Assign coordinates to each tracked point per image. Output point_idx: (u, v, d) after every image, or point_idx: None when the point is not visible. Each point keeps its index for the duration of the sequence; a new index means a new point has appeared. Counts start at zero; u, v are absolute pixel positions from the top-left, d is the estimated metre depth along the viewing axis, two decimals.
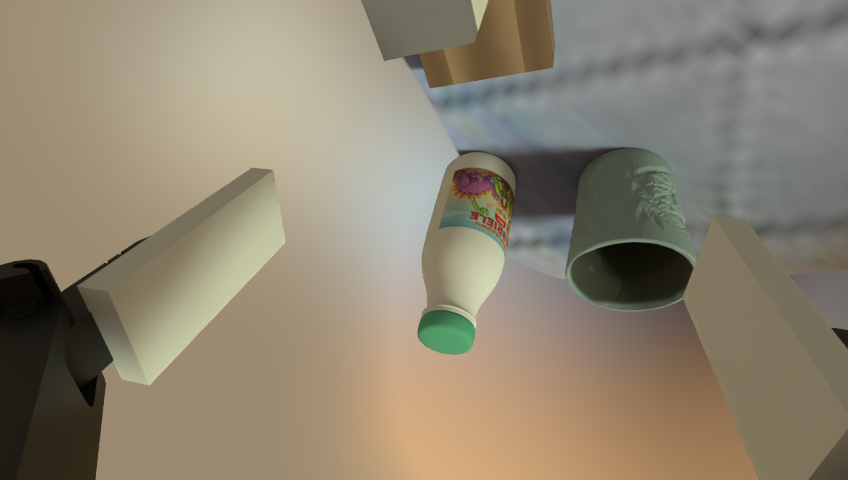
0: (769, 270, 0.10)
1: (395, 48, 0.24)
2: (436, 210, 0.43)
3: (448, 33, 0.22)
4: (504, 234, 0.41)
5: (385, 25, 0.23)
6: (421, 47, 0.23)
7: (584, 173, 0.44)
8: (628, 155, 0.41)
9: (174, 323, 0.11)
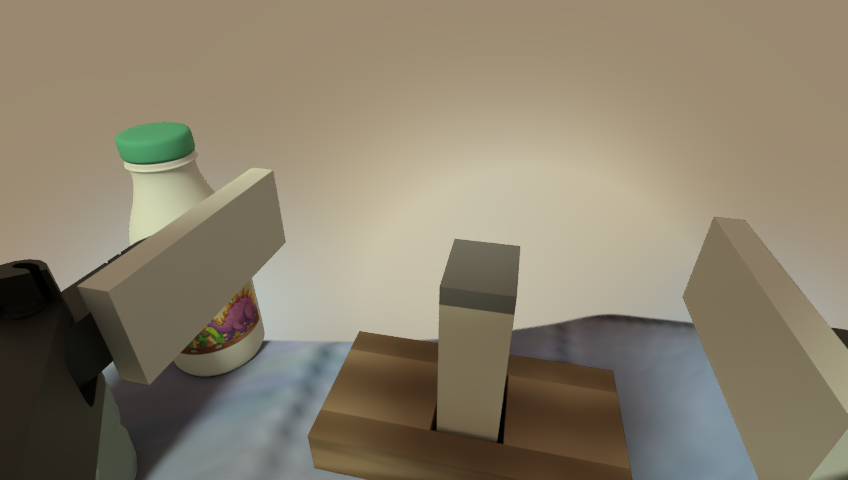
0: (769, 270, 0.10)
1: (461, 247, 0.27)
2: None
3: (456, 275, 0.25)
4: None
5: (482, 248, 0.27)
6: (453, 259, 0.26)
7: None
8: None
9: (174, 323, 0.11)
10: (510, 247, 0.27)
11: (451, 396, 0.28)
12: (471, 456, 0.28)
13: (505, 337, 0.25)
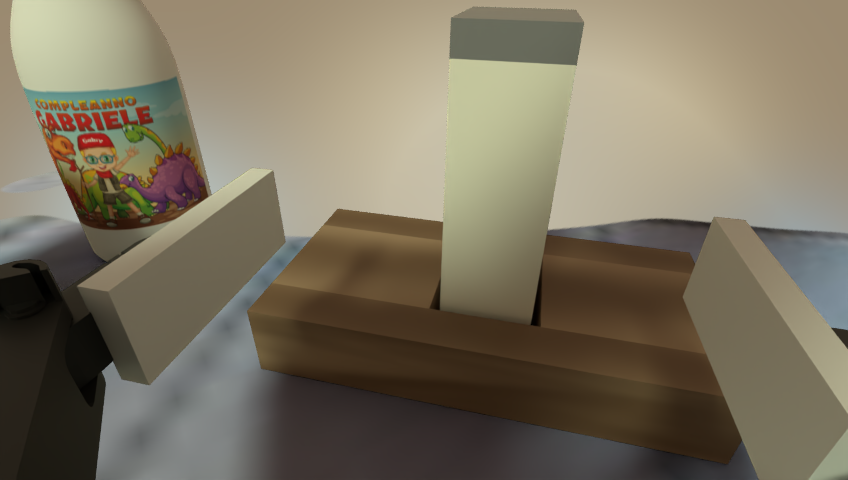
0: (769, 270, 0.10)
1: (483, 8, 0.17)
2: (192, 121, 0.29)
3: (478, 15, 0.15)
4: (68, 126, 0.23)
5: (516, 9, 0.17)
6: (472, 11, 0.16)
7: None
8: None
9: (174, 323, 0.11)
10: (560, 9, 0.17)
11: (464, 247, 0.18)
12: (492, 339, 0.18)
13: (558, 117, 0.15)
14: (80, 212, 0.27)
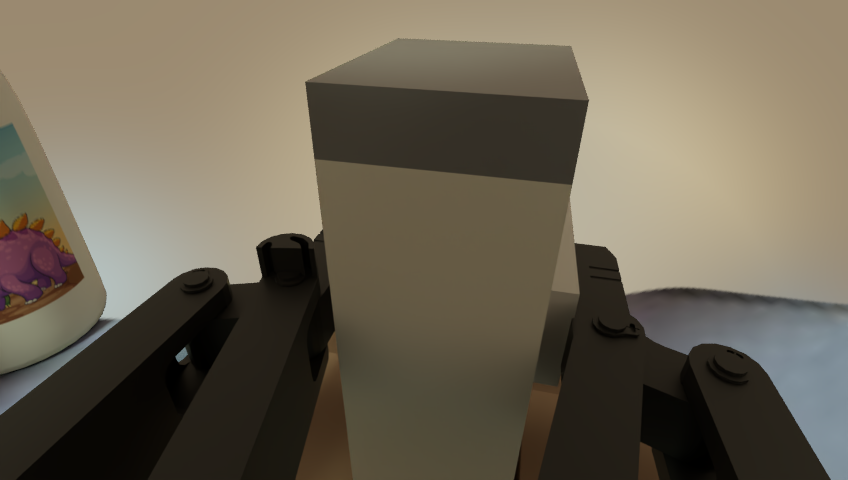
0: None
1: (410, 44, 0.10)
2: (53, 179, 0.21)
3: (375, 69, 0.07)
4: None
5: (467, 46, 0.10)
6: (381, 53, 0.09)
7: None
8: None
9: None
10: (544, 46, 0.10)
11: (383, 445, 0.11)
12: None
13: (535, 275, 0.07)
14: None
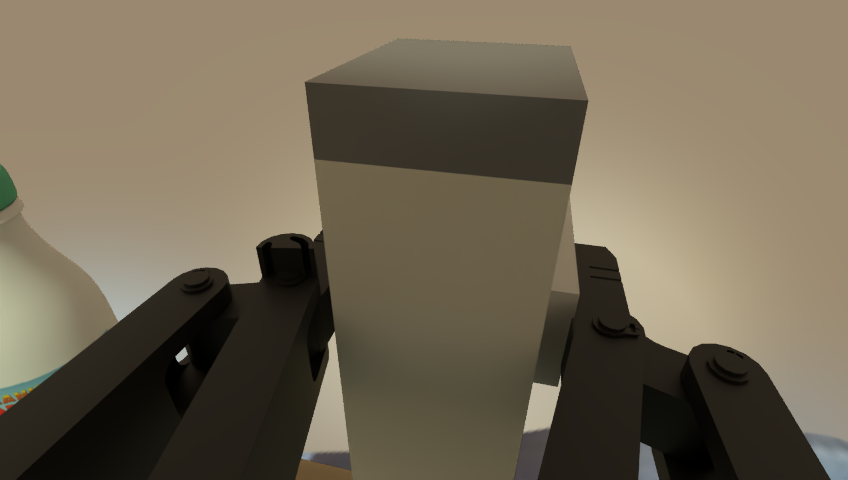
0: None
1: (409, 44, 0.10)
2: None
3: (375, 70, 0.07)
4: None
5: (466, 46, 0.10)
6: (380, 53, 0.09)
7: None
8: None
9: None
10: (544, 46, 0.10)
11: (383, 445, 0.11)
12: None
13: (534, 275, 0.07)
14: None
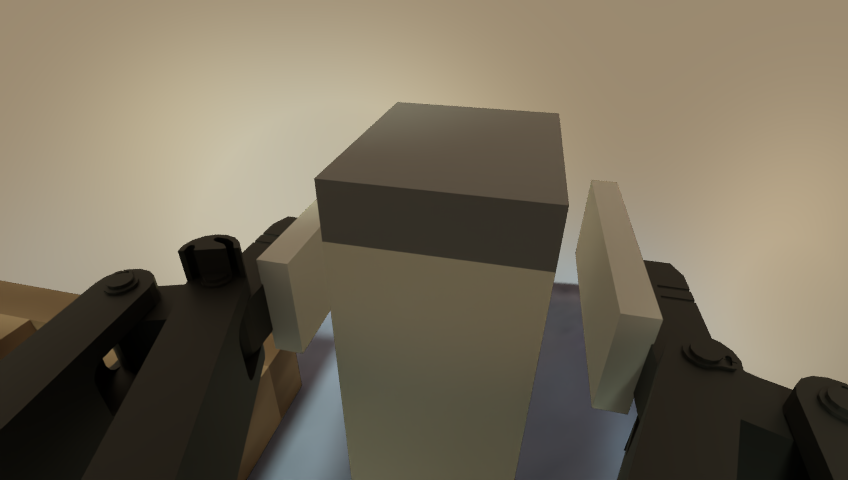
0: (615, 218, 0.12)
1: (408, 112, 0.11)
2: None
3: (377, 157, 0.08)
4: None
5: (462, 115, 0.11)
6: (382, 129, 0.10)
7: None
8: None
9: (319, 298, 0.12)
10: (534, 115, 0.11)
11: None
12: None
13: (523, 345, 0.08)
14: None
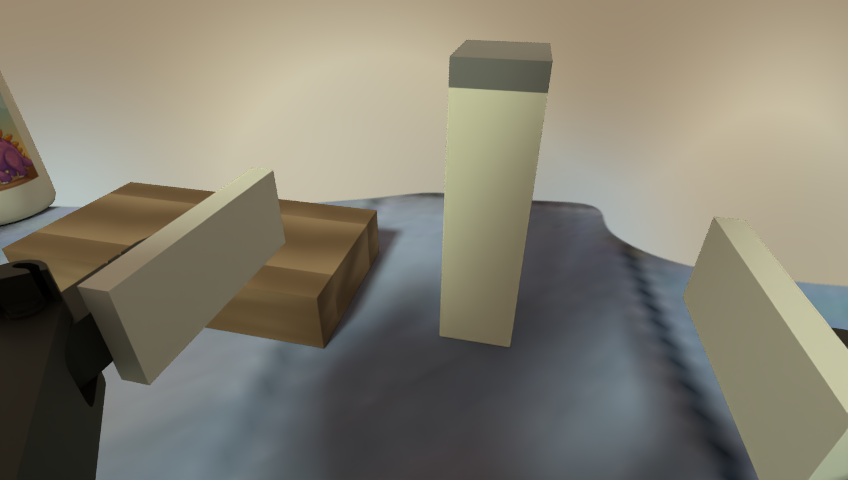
0: (769, 270, 0.10)
1: (475, 42, 0.21)
2: (18, 114, 0.36)
3: (470, 52, 0.19)
4: None
5: (501, 43, 0.21)
6: (466, 46, 0.20)
7: None
8: None
9: (174, 323, 0.11)
10: (537, 43, 0.21)
11: (461, 237, 0.22)
12: None
13: (534, 133, 0.19)
14: None
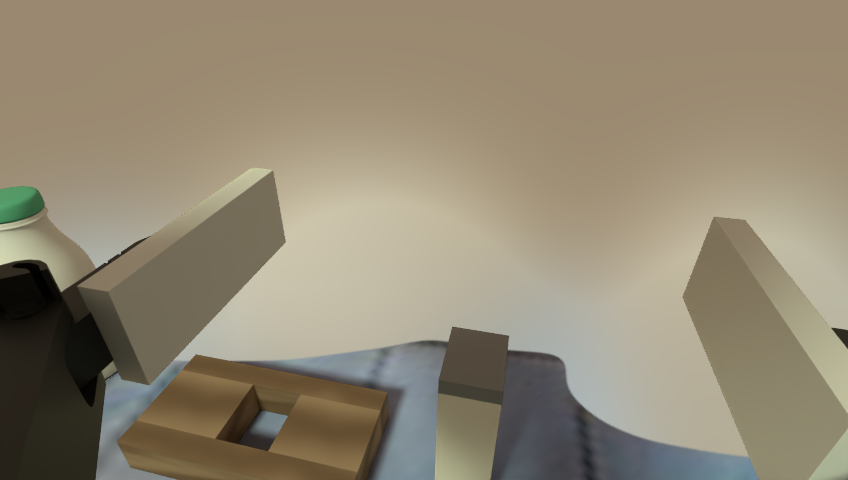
0: (769, 270, 0.10)
1: (457, 336, 0.31)
2: None
3: (453, 368, 0.29)
4: None
5: (475, 337, 0.31)
6: (451, 349, 0.30)
7: None
8: None
9: (174, 323, 0.11)
10: (500, 337, 0.31)
11: (448, 463, 0.32)
12: (238, 460, 0.36)
13: (494, 421, 0.29)
14: None
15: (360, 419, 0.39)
